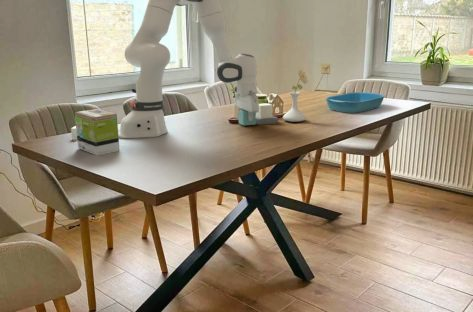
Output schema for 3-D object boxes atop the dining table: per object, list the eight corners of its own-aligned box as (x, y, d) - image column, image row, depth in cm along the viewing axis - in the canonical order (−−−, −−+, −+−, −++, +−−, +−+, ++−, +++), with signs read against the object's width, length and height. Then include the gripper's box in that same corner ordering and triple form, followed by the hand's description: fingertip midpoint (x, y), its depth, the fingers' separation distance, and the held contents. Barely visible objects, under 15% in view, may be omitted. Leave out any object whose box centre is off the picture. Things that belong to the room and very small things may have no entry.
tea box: (77, 149, 187) (73, 111, 183) (100, 144, 194) (97, 108, 190) (96, 156, 177) (93, 116, 173) (120, 151, 184) (117, 112, 180)
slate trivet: (258, 124, 228) (258, 119, 227) (250, 120, 237) (250, 115, 236) (277, 122, 231) (278, 117, 231) (269, 119, 240) (269, 114, 240)
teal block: (243, 125, 224) (243, 112, 222) (238, 123, 229) (238, 110, 228) (255, 124, 226) (255, 111, 224) (250, 122, 231) (250, 109, 230)
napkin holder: (86, 133, 217) (85, 120, 215) (102, 136, 210) (101, 123, 208) (56, 139, 206) (54, 126, 204) (71, 143, 199) (69, 129, 197)
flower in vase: (294, 124, 228) (295, 70, 221) (277, 121, 236) (278, 69, 230) (313, 120, 236) (315, 68, 229) (296, 117, 244) (297, 67, 237)
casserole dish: (353, 116, 247) (354, 102, 246) (318, 110, 263) (318, 97, 261) (390, 107, 272) (391, 94, 270) (356, 102, 288) (356, 90, 286)
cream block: (260, 118, 230) (260, 105, 228) (255, 116, 235) (255, 104, 233) (272, 117, 232) (272, 104, 230) (267, 115, 237) (267, 103, 236)
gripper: (262, 92, 215) (262, 122, 219) (245, 86, 233) (245, 115, 237) (249, 92, 213) (249, 123, 216) (232, 87, 231) (232, 116, 235)
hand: (246, 119), depth 227 cm, fingers closed on teal block, 6 cm apart
